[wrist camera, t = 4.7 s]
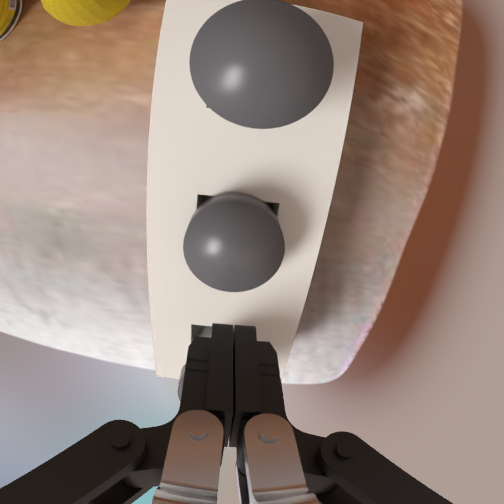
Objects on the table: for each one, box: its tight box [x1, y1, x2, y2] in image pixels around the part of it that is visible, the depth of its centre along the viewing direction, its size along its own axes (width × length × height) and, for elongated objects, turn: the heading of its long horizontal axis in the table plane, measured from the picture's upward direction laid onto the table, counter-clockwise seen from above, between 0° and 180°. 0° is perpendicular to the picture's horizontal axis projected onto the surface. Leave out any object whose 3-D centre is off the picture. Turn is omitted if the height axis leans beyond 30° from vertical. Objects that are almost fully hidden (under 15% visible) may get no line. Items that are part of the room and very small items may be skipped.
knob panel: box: [147, 0, 363, 380], centre depth 20 cm, size 26×10×5 cm, turn 172°
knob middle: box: [183, 192, 285, 292], centre depth 18 cm, size 5×5×6 cm
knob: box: [189, 0, 334, 129], centre depth 12 cm, size 5×5×6 cm
